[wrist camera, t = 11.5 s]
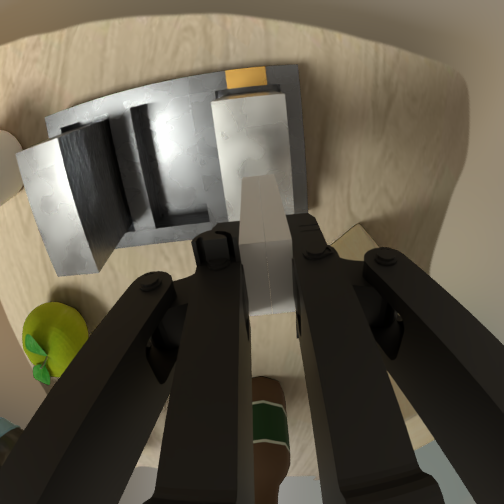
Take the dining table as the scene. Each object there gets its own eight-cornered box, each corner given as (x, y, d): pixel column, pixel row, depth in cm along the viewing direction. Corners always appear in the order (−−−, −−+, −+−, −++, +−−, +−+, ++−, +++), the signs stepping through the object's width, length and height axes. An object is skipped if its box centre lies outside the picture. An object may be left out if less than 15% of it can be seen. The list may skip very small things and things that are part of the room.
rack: (96, 236, 32) (49, 298, 23) (63, 111, 25) (-8, 135, 16) (302, 211, 31) (326, 275, 22) (291, 66, 24) (318, 57, 15)
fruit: (45, 326, 39) (16, 375, 31) (41, 278, 35) (4, 329, 26) (98, 348, 41) (76, 402, 32) (102, 302, 37) (72, 361, 28)
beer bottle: (263, 368, 43) (271, 535, 22) (294, 390, 46) (310, 538, 25) (222, 388, 45) (215, 540, 24) (254, 408, 48) (258, 545, 27)
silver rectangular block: (238, 203, 30) (234, 259, 21) (223, 95, 25) (210, 101, 16) (281, 198, 29) (296, 253, 21) (271, 90, 24) (284, 93, 16)
